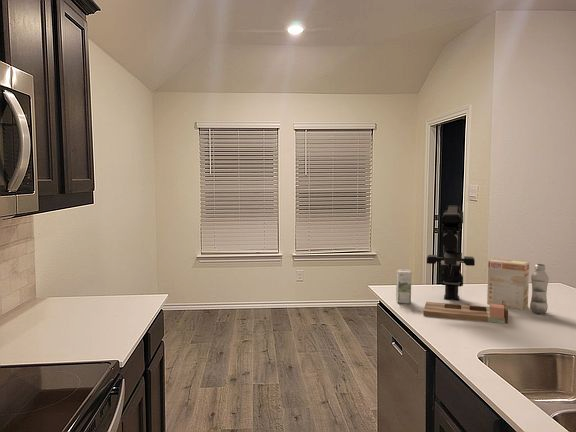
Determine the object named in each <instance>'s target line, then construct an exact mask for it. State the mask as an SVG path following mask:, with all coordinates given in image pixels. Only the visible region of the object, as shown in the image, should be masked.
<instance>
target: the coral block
mask: <svg viewBox="0 0 576 432" xmlns="http://www.w3.org/2000/svg"><path fill="white" fill-rule="evenodd" d="M489 307H490V309H489V316H490V317H491V318H501V319H504V305H497V304H489Z"/></svg>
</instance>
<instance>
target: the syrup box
mask: <svg viewBox="0 0 576 432" xmlns="http://www.w3.org/2000/svg"><path fill="white" fill-rule="evenodd" d="M395 289H396V292H395V293H396V294H395V295H396V299H395V300H396V302H397V304H405V305H406V304H407V305H408V304H410V305H411V303H412V302H411V301H412V299H411V298H412V297H411V296H412V272H411V270H410V269H396V288H395Z"/></svg>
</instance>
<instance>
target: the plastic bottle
mask: <svg viewBox="0 0 576 432" xmlns="http://www.w3.org/2000/svg"><path fill="white" fill-rule="evenodd" d="M534 269H535V270H534V272H533V273H532V274H531V276H530V279H531V290H532V291H531V299H530V303H529V309H530V311H531V312H532V313H535V314H546V313H547V312H548V307H549V306H548V302H547V301H548V299H547V298H548V297H547V294H548V293H547V290H548V285H549V284H548V283H549V281H550V277H549V275H548V273H547V272H546V264H541V263H535V267H534Z"/></svg>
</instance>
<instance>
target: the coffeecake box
mask: <svg viewBox="0 0 576 432" xmlns="http://www.w3.org/2000/svg"><path fill="white" fill-rule="evenodd" d="M529 285H530V262H528V261H521V260H520V261H518V260H510V259H500V258H491V259H489V260H488V264H487V295H486V296H487V297H486V300H487V301H486V303H487V304H486V305H490V304H497V305H502V301H505V303H506V306H507V309H508V308H509V309H514V310H521V311H524V310H525V309H527V308H529V291H530V286H529Z"/></svg>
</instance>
